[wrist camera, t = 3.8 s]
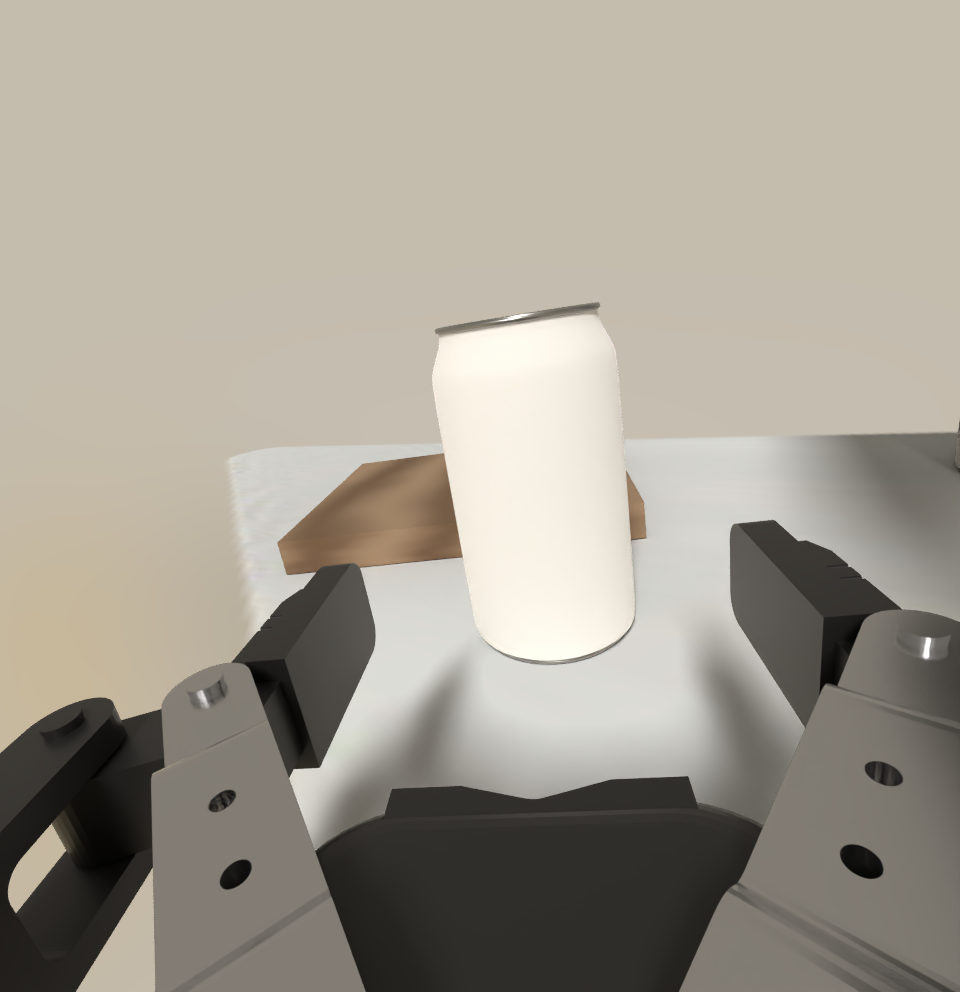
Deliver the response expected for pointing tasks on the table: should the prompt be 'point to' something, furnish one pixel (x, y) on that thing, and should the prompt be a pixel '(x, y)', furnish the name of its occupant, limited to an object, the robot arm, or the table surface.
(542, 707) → the table surface
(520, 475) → the can
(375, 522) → the serving board
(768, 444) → the table surface
